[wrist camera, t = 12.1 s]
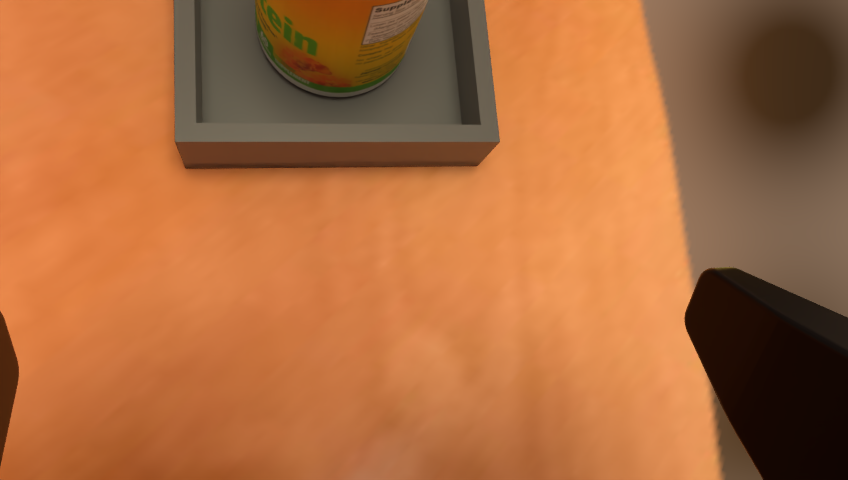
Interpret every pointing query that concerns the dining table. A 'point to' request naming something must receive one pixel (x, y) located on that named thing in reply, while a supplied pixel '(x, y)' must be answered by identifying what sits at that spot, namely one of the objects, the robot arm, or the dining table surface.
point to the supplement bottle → (337, 41)
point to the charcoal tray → (331, 116)
